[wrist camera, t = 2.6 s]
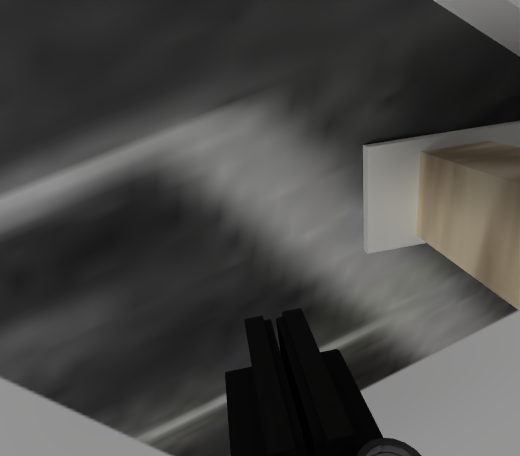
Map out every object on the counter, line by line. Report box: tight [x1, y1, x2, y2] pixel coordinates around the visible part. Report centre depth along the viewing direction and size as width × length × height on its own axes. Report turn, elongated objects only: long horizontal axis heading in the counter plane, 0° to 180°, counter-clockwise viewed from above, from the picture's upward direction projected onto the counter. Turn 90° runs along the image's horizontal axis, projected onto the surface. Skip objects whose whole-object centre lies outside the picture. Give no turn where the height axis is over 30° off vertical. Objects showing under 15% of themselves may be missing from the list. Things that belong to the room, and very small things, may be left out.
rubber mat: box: [363, 121, 520, 253], centre depth 21 cm, size 19×6×1 cm, turn 97°
